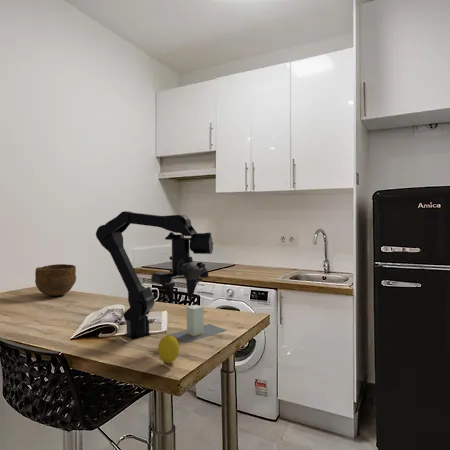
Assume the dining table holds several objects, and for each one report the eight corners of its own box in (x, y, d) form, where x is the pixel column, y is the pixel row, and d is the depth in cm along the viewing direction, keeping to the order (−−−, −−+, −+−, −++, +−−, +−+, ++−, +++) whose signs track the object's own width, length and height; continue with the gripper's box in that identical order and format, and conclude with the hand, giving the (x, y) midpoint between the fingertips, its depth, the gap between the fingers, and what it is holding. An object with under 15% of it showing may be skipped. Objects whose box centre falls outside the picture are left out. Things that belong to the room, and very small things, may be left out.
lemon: (159, 360, 95) (159, 331, 95) (179, 359, 96) (179, 330, 96) (157, 369, 90) (156, 338, 90) (178, 368, 90) (178, 337, 90)
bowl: (66, 300, 165) (65, 269, 165) (27, 300, 166) (26, 269, 165) (83, 291, 184) (82, 263, 184) (48, 291, 184) (47, 263, 184)
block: (193, 336, 113) (193, 309, 113) (186, 333, 116) (186, 306, 116) (203, 333, 116) (203, 306, 115) (196, 330, 119) (196, 304, 118)
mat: (186, 343, 107) (186, 342, 107) (169, 335, 115) (169, 334, 115) (227, 331, 119) (227, 330, 119) (209, 324, 126) (209, 323, 126)
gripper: (169, 258, 99) (170, 312, 100) (218, 253, 112) (219, 301, 112) (150, 255, 108) (150, 304, 108) (198, 250, 120) (198, 295, 120)
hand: (181, 301), depth 112 cm, fingers open, 7 cm apart
